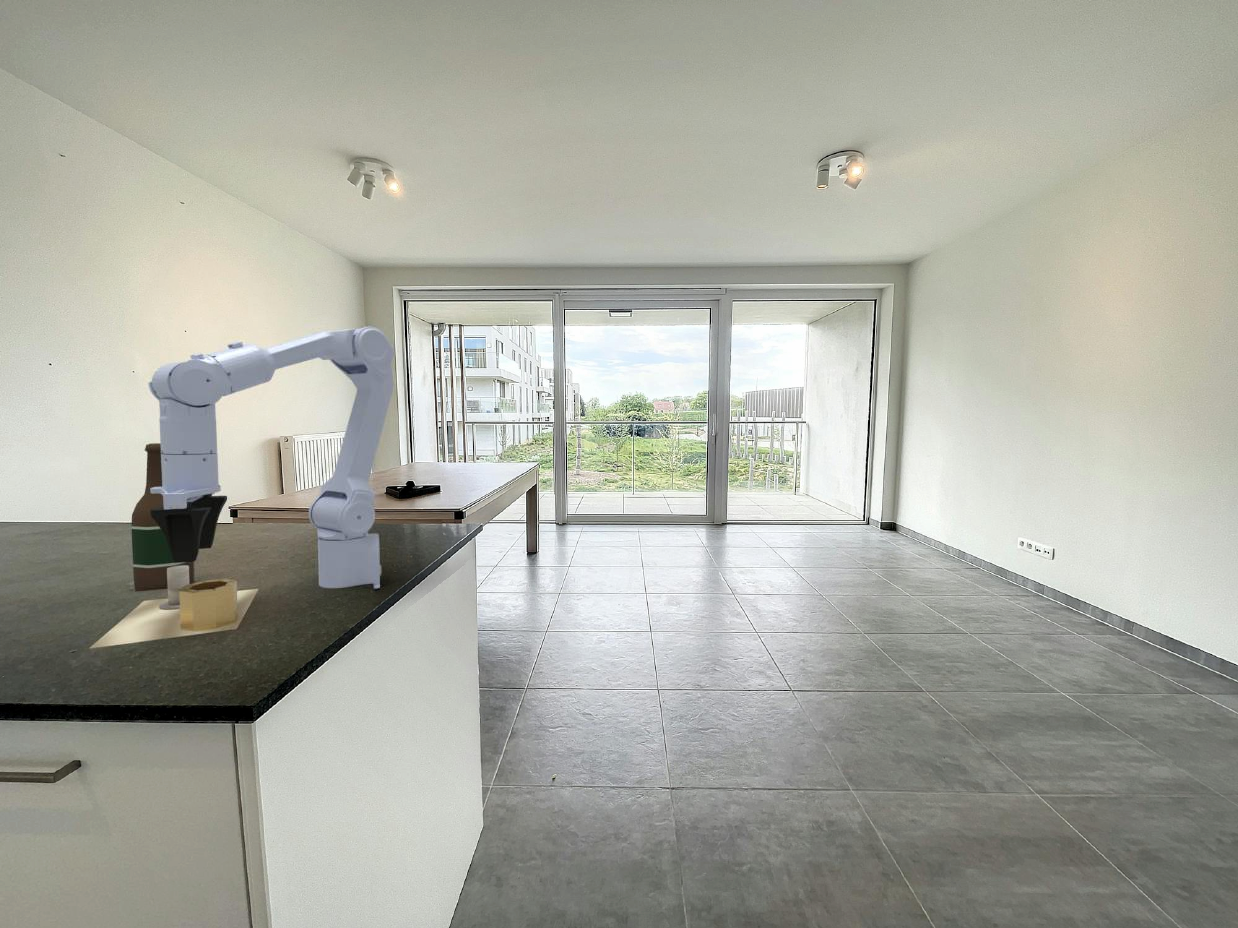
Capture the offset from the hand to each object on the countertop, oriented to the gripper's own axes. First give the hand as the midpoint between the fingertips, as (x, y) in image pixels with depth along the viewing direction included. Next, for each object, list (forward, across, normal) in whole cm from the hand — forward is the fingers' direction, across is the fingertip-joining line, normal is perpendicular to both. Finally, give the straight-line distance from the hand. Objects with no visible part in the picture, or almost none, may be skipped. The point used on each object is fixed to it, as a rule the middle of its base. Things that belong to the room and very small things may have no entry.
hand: (194, 554), depth 68 cm
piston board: (+10, -3, -2) cm, 10 cm away
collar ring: (+9, +2, +2) cm, 9 cm away
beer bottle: (+10, -22, -9) cm, 26 cm away
